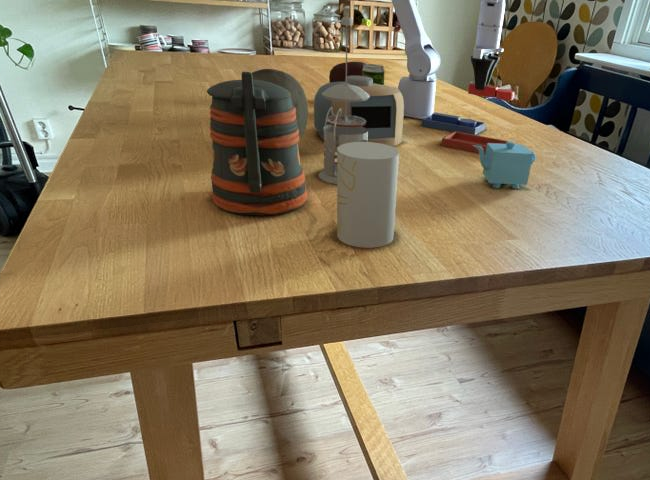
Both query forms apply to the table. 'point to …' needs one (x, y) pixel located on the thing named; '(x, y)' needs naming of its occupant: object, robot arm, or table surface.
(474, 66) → the robot arm
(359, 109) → the alarm clock
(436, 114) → the blue spoon
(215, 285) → the table surface
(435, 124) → the blue tray
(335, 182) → the french press
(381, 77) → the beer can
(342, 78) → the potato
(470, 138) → the red tray
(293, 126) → the tankard
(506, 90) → the red spoon
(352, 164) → the cup
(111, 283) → the table surface
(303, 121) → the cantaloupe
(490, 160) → the teapot
